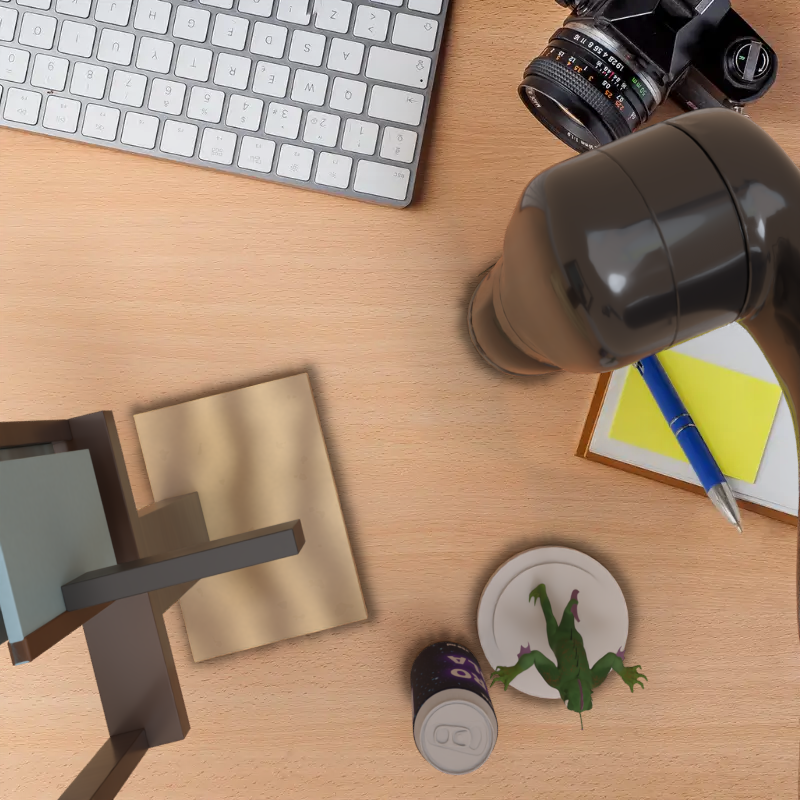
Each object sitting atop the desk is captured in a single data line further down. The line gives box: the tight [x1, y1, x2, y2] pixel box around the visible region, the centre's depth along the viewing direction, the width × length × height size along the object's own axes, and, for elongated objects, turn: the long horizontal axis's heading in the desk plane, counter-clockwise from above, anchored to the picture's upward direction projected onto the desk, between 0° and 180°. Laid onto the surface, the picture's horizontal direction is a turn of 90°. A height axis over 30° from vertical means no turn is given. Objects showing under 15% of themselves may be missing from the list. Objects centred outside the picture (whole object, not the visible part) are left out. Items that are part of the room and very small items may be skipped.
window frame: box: [0, 409, 210, 800], centre depth 44 cm, size 4×19×34 cm, turn 14°
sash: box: [0, 449, 306, 667], centre depth 36 cm, size 11×8×11 cm
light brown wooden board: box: [133, 371, 369, 663], centre depth 61 cm, size 14×20×1 cm
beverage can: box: [409, 641, 499, 776], centre depth 56 cm, size 6×6×12 cm
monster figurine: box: [476, 544, 649, 731], centre depth 57 cm, size 12×12×10 cm
